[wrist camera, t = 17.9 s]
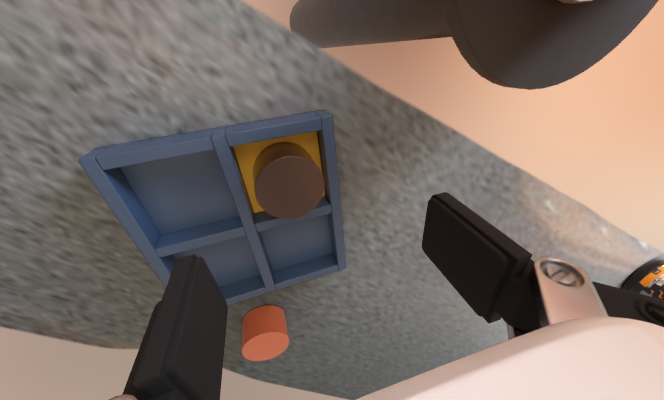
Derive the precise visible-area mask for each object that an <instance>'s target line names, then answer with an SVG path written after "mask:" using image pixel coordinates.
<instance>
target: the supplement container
mask: <svg viewBox="0 0 664 400" xmlns="http://www.w3.org/2000/svg"><path fill="white" fill-rule="evenodd" d="M623 289H624V290H627V291H631V292H635V293H639V294H643V295H647V296H651V297H654V298H657V299H660V300H663V301H664V260H653V261H651V262H649V263H647V264H645V265H643V266H642V267H640V268H639V269H638V270H637V271H635V272H634V273H633V274H632V275H631V276H630V277H629V278H628V279H627V280H626V282H625V283H624V285H623Z"/></svg>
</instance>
